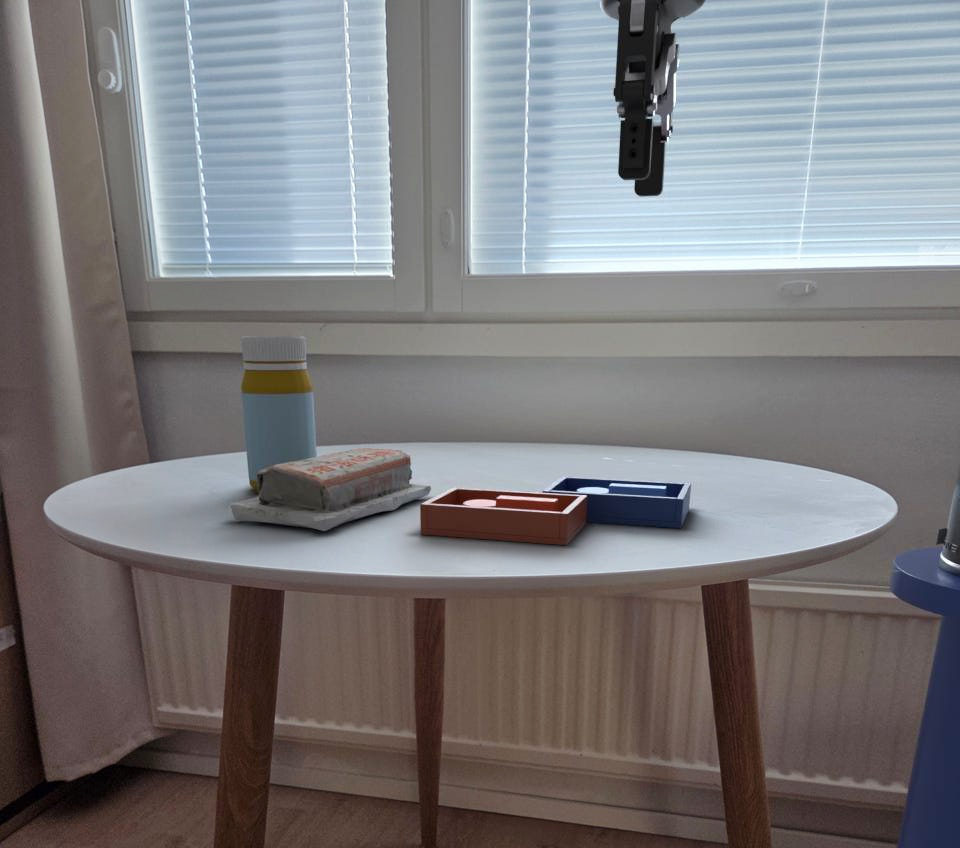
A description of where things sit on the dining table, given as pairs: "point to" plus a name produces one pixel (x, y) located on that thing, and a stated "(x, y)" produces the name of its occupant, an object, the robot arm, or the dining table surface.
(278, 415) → the bottle
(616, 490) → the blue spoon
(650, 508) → the blue tray
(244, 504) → the packaged product
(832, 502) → the dining table surface
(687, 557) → the dining table surface
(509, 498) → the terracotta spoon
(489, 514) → the terracotta tray
